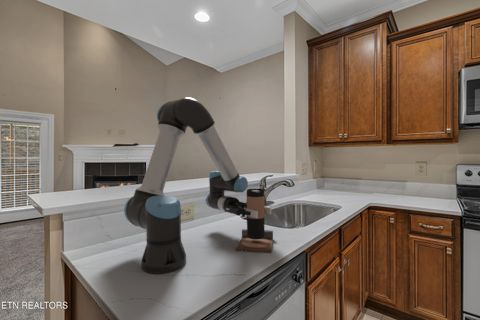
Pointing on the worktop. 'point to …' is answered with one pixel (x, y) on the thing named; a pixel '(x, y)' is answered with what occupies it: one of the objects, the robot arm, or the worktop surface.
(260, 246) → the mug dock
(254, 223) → the travel mug
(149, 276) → the worktop surface
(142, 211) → the robot arm
